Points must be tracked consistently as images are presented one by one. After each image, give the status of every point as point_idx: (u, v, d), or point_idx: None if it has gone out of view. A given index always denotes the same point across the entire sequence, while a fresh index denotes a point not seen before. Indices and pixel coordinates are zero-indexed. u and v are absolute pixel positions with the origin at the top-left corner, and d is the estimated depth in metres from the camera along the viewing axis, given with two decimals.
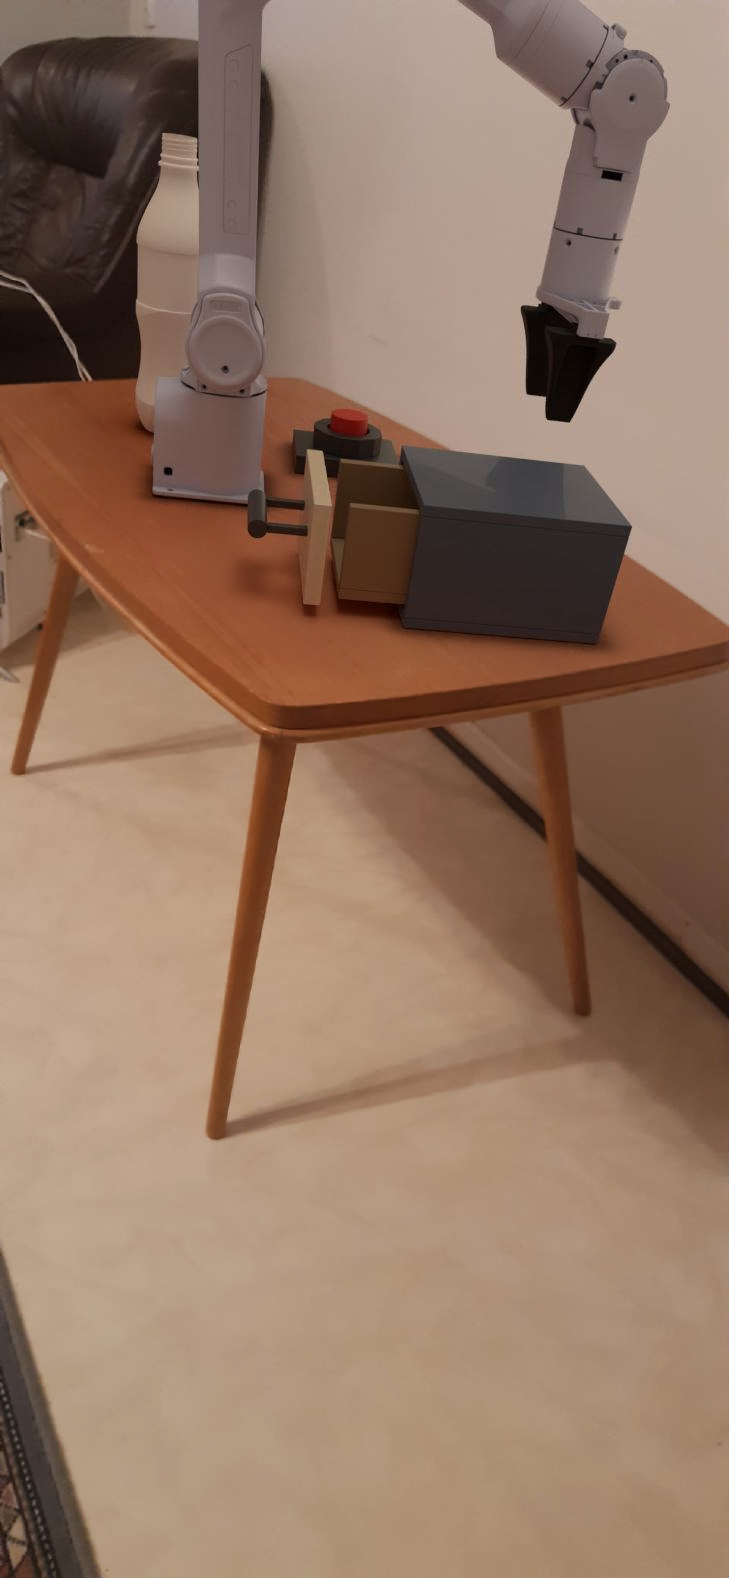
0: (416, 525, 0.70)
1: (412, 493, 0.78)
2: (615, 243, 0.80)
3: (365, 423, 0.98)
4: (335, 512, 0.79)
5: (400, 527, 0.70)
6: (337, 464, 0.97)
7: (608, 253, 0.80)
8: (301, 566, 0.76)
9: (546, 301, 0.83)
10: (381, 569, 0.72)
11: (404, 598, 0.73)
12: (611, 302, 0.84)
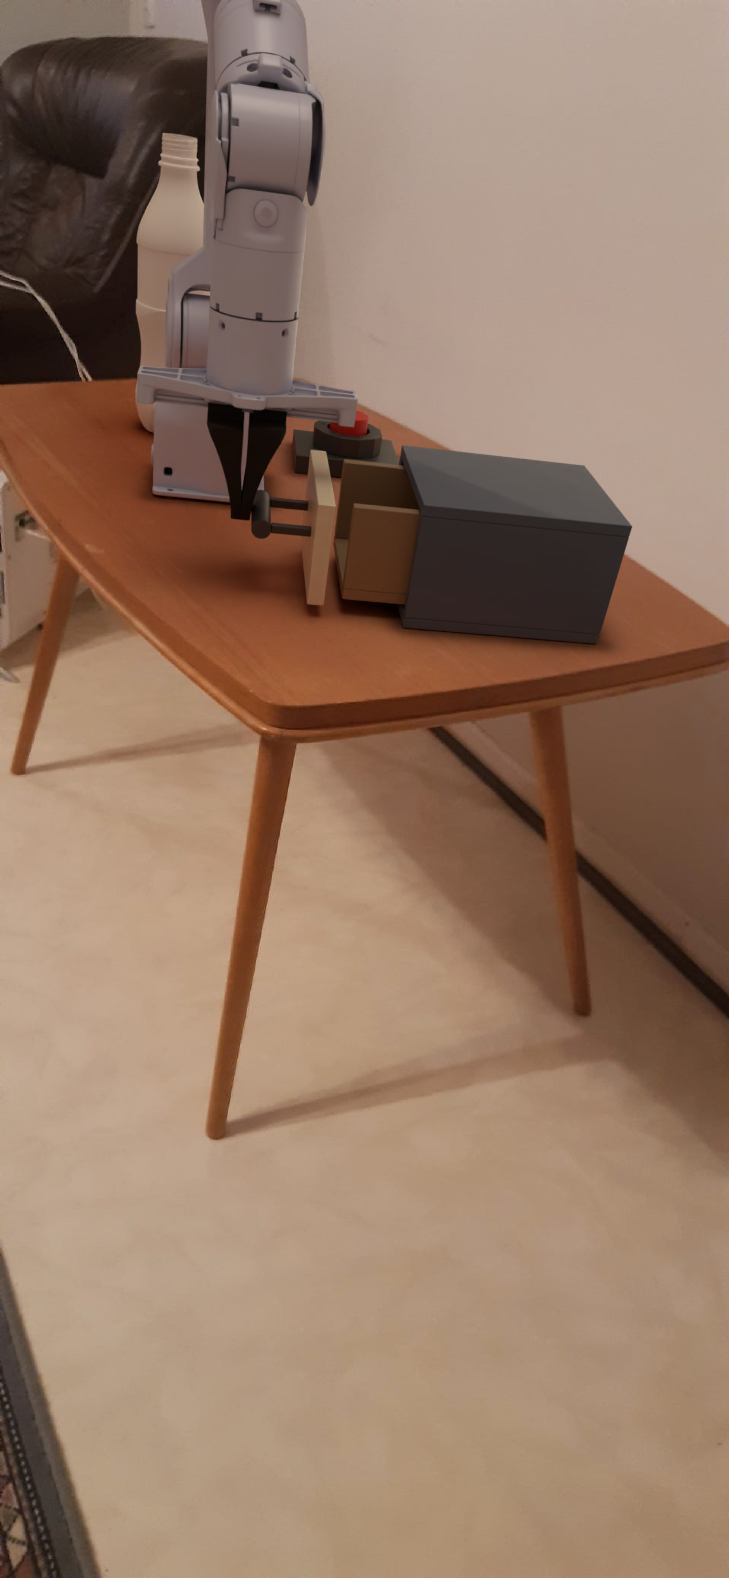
0: None
1: None
2: (217, 315, 0.64)
3: (365, 423, 0.98)
4: (338, 512, 0.79)
5: (404, 527, 0.70)
6: (337, 464, 0.97)
7: (212, 325, 0.65)
8: (305, 566, 0.76)
9: None
10: (385, 570, 0.72)
11: None
12: (231, 394, 0.66)
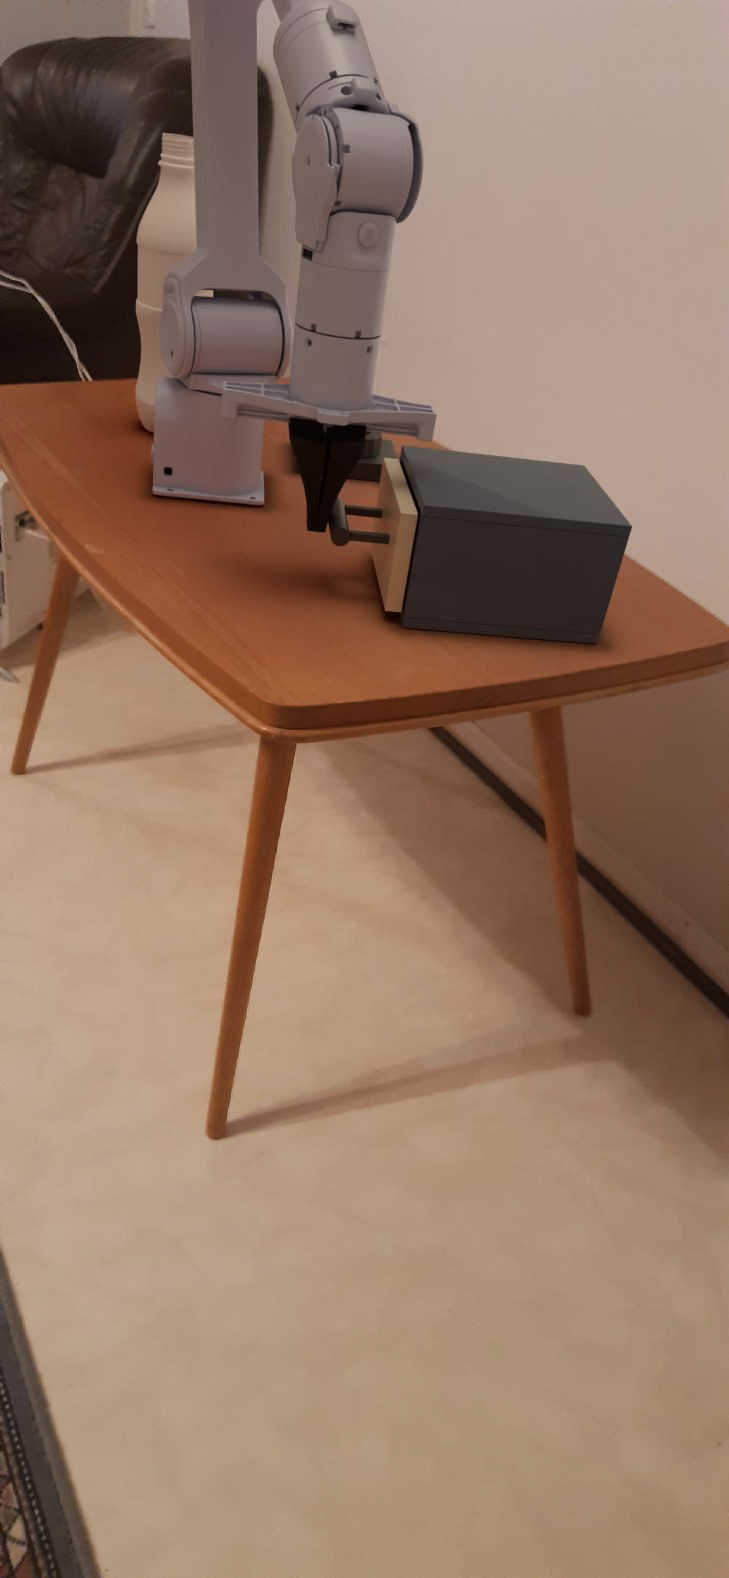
0: None
1: None
2: (304, 333, 0.65)
3: None
4: None
5: None
6: None
7: (298, 342, 0.66)
8: (379, 573, 0.76)
9: None
10: None
11: None
12: (315, 410, 0.67)
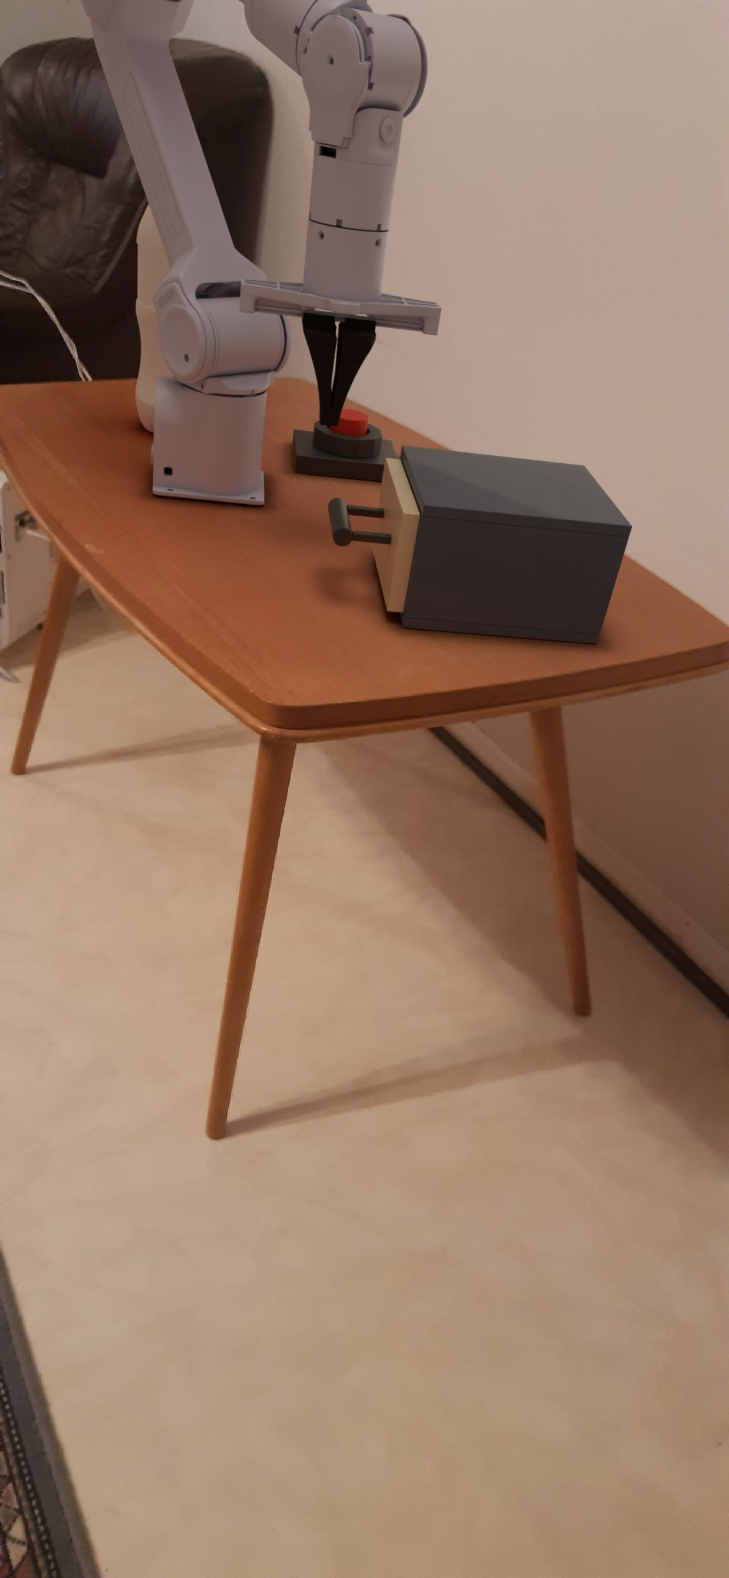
0: None
1: None
2: (317, 226, 0.70)
3: (365, 423, 0.98)
4: None
5: None
6: (337, 464, 0.97)
7: (312, 237, 0.71)
8: (381, 573, 0.76)
9: None
10: None
11: None
12: (328, 300, 0.72)
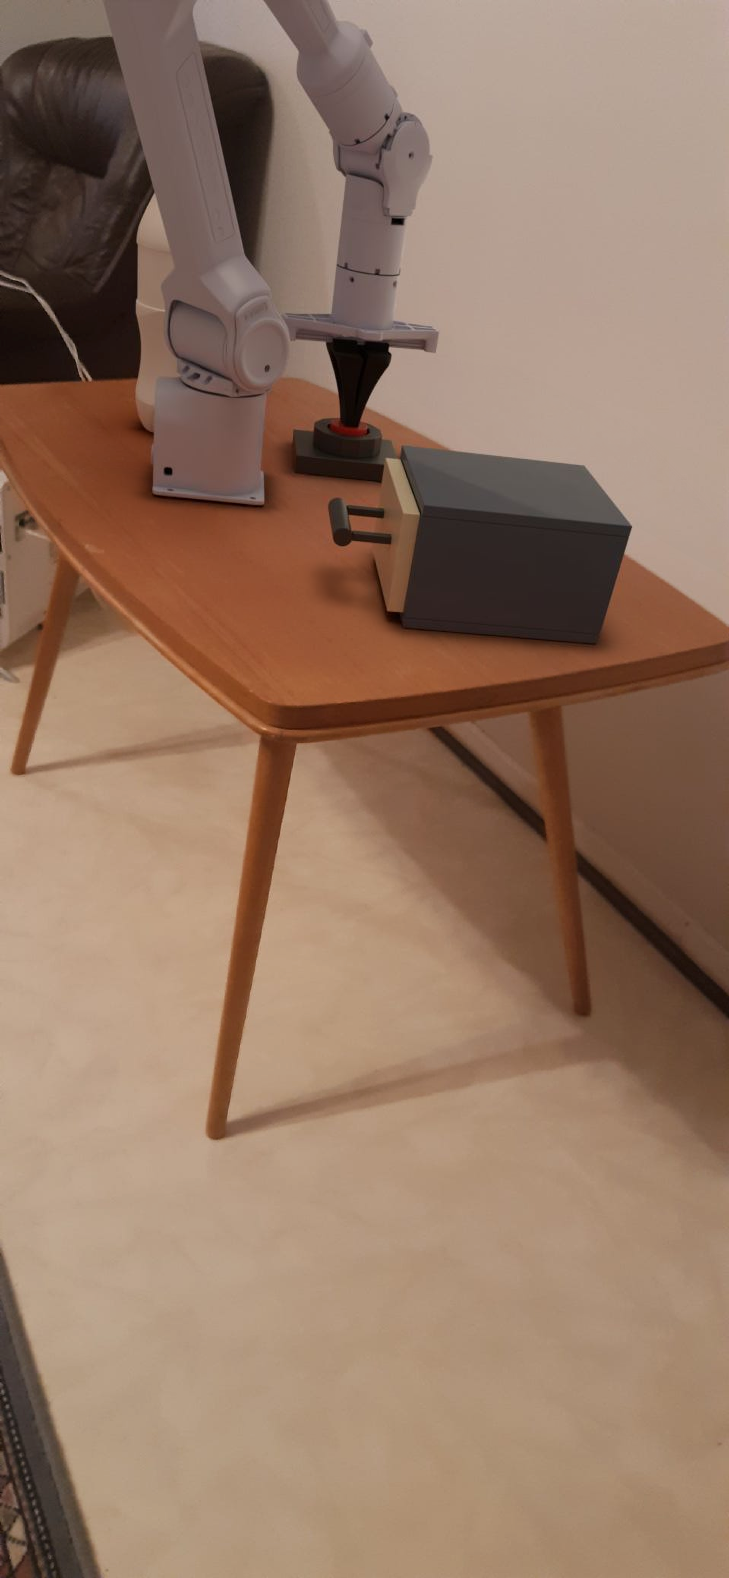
0: None
1: None
2: (348, 272, 0.89)
3: (364, 432, 0.98)
4: None
5: None
6: (337, 464, 0.97)
7: (342, 280, 0.90)
8: (381, 573, 0.76)
9: None
10: None
11: None
12: (357, 330, 0.91)
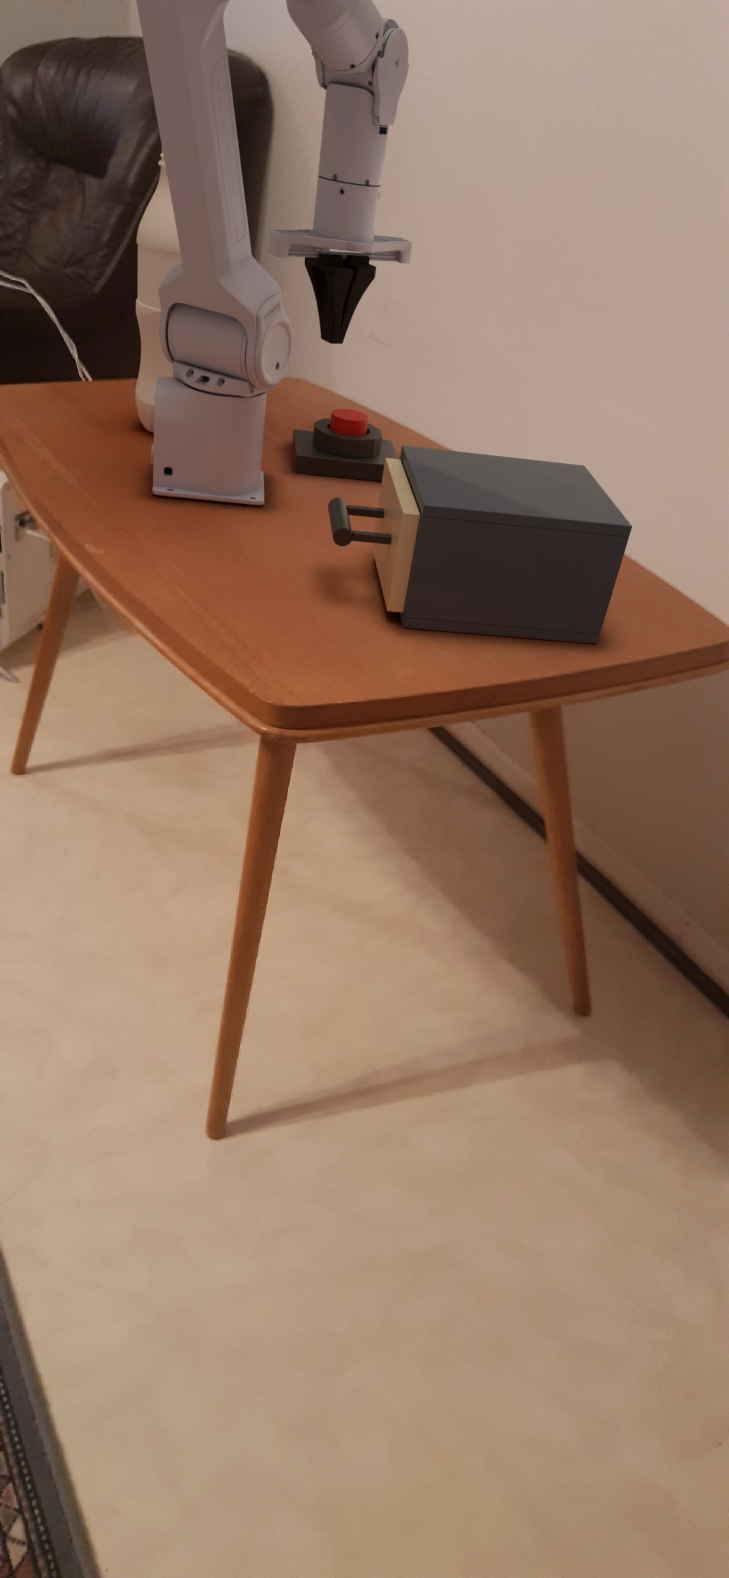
0: None
1: None
2: (337, 184, 0.90)
3: (365, 423, 0.98)
4: None
5: None
6: (337, 464, 0.97)
7: (331, 193, 0.90)
8: (381, 573, 0.76)
9: None
10: None
11: None
12: (350, 243, 0.92)
